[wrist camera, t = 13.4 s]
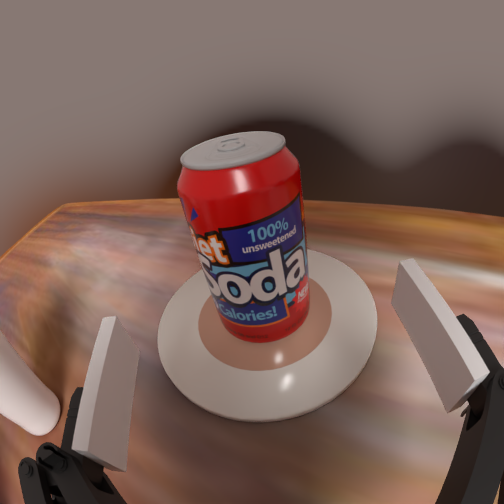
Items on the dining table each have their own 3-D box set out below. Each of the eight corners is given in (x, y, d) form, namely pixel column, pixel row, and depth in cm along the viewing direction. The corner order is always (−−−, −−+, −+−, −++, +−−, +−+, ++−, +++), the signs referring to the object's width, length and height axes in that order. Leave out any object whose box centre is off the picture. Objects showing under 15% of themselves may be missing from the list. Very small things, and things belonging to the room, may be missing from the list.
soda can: (298, 276, 29) (281, 122, 21) (321, 337, 23) (313, 150, 14) (220, 292, 29) (176, 143, 21) (224, 357, 23) (159, 181, 14)
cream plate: (365, 251, 32) (365, 243, 32) (382, 425, 17) (385, 420, 16) (198, 254, 37) (196, 247, 37) (130, 398, 22) (124, 392, 21)
